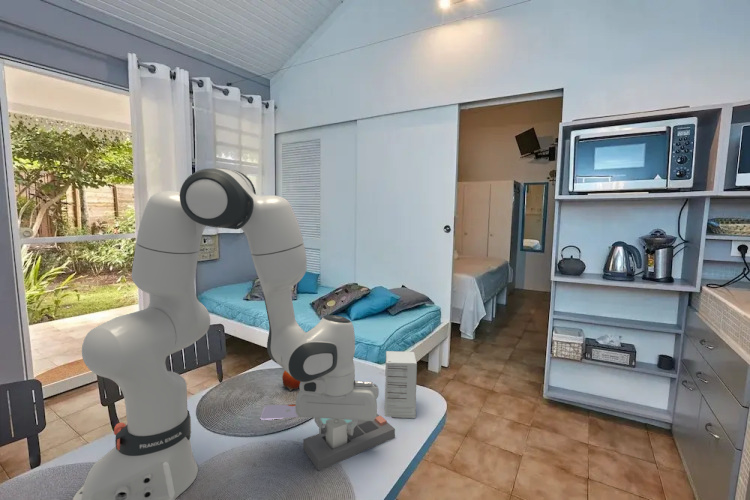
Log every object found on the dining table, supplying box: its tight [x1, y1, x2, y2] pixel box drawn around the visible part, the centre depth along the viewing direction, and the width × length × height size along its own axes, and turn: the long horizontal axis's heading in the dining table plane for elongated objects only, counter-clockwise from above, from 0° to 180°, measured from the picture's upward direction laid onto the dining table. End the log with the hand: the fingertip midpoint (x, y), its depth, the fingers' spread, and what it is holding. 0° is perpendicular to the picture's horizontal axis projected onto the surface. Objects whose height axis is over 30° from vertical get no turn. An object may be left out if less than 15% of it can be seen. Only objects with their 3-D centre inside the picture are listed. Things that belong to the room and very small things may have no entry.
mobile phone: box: [259, 403, 299, 421], centre depth 103 cm, size 8×1×15 cm
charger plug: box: [326, 419, 347, 449], centre depth 86 cm, size 4×4×8 cm
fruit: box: [281, 370, 301, 392], centre depth 118 cm, size 8×8×8 cm
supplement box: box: [384, 350, 418, 419], centre depth 104 cm, size 10×9×17 cm
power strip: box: [302, 413, 396, 472], centre depth 88 cm, size 22×9×4 cm, turn 124°
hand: (336, 433), depth 86 cm, fingers closed on charger plug, 6 cm apart
